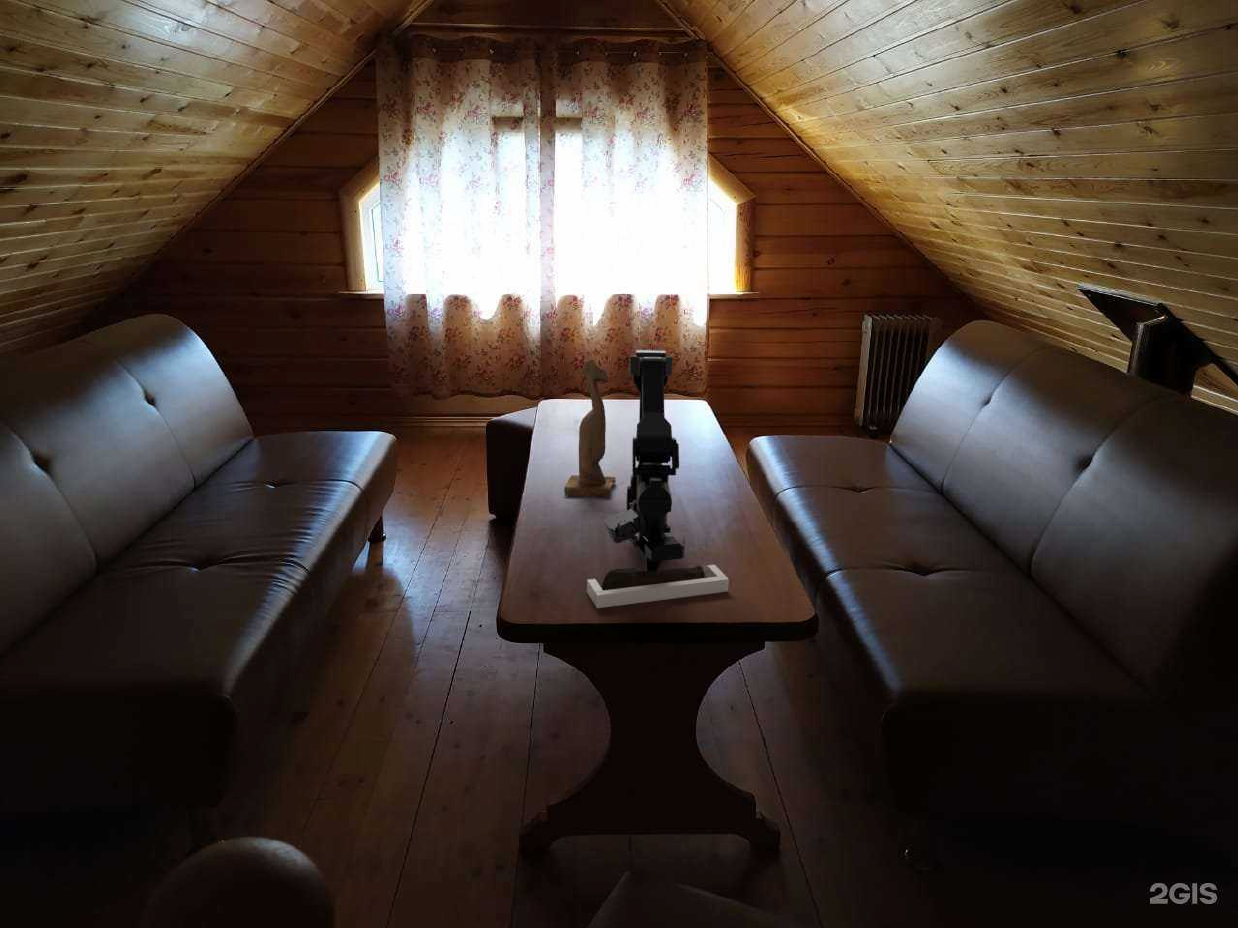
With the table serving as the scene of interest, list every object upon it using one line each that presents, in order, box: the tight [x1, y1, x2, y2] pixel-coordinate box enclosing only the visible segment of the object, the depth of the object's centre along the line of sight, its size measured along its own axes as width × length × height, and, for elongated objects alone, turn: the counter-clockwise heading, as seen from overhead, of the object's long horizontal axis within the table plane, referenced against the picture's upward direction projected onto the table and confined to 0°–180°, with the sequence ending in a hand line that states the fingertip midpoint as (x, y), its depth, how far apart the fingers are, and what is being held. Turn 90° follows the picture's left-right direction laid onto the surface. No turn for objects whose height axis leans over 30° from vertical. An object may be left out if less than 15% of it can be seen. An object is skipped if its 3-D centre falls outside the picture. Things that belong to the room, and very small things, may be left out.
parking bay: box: [586, 564, 730, 609], centre depth 160 cm, size 6×25×2 cm, turn 108°
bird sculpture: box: [563, 359, 617, 499], centre depth 208 cm, size 11×12×32 cm
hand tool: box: [601, 565, 706, 591], centre depth 162 cm, size 19×4×5 cm, turn 99°
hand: (649, 576), depth 165 cm, fingers closed
